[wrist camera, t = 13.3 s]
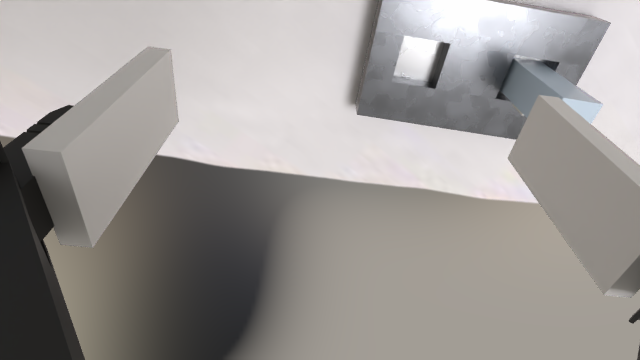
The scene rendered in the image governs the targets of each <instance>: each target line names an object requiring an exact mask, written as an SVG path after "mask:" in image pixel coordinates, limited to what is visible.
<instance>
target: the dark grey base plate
mask: <svg viewBox="0 0 640 360" xmlns="http://www.w3.org/2000/svg"><path fill="white" fill-rule="evenodd" d="M610 24H611V23H610V22H608V21H605V20H602V19H600V18H597V17H594V16H589V15H583V14H577V13H572V12H566V11H561V10H555V9H550V8H544V7H538V6H533V5H527V4H522V3H516V2H511V1H505V0H379V1H378V6H377V10H376V15H375V19H374V24H373V28H372V33H371V37H370V42H369V46H368V51H367V55H366V60H365V64H364V69H363V73H362V78H361V82H360V87H359V91H358V96H357V100H356V112H357V115H363V116H369V117H376V118H382V119H388V120H395V121H401V122H408V123H414V124H420V125H427V126H433V127H440V128H446V129H452V130H459V131H465V132H471V133H478V134H484V135H491V136H497V137H503V138H510V139H516V140H517V138H518V136H519V134H520V132H521V130H522V128H523V126H524V124H525V122H526V120H527V118H526V117H525V116H523V115H521V114H520V113H519V112H518V111H517V110H516V109H515V108H514V107H513V106H512V105H513V103H512V102H511V101H510V100H509V99H508V98H507V97H506V96H505V95H504V94H503V93H502V92H501V91H500V90H499V89H500V87H501V85H502V83H503V80H504V78H505V76H506V74H507V71H508V69H509V67H510V64H511V62H512V60H513V58H514V57H517V58H523V59H529V60H535V61H541V62H542V63H544V64H545V65H547V66H548V67H549V68H551V69H552V70H554V71H555V72H557V73H558V74H560V75H561V76H563V77H564V78H566V79H567V80H568V81H570V82H571V83H573V84H574V85H577V83H578V81H579V79H580V78H581V76H582V74H583V72H584V70H585V69H586V67H587V65H588V63H589V61H590V60H591V58H592V56H593V54H594V52H595V51H596V49H597V47H598V45H599V43H600V42H601V40H602V38H603V36H604V34H605V33H606V31H607V29H608V27H609V25H610Z"/></svg>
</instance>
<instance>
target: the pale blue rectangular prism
mask: <svg viewBox="0 0 640 360" xmlns="http://www.w3.org/2000/svg"><path fill="white" fill-rule="evenodd" d="M499 90H500V91H501V92H502V93H503V94H504V95H505V96H506V97H507V98H508V99H509V100H510V101H511V102H512V103H513V105H512V106H513V107H514V108H515V109H516V110H517V111H518V112H519V113H520V114H521V115H523V116H525V117H526V118H528V116H529V113H530V111H531V109H532V107H533V105H534V103H535V101H536V99H537V97H538V95H544V96H552V97H559V98H560V99H561V100H563V101H564V102H565V103H566V104H567V105H569V106H570V107H571V108H572V109H573V110H574V111H576V112H577V113H578V114H579V115H580V116H582V117H583V118H584V119H585V120H586V121H588V122H589V123H590V124H591V123H592V122H593V120H594V118H595V117H596V115H597V114H598V112H599V110H600V109H601V107H602V106H603V104H602V103H601V102H599V101H598V100H596V99H595V98H593V97H592V96H590V95H589V94H587V93H586V92H584V91H583V90H582V89H580V88H579V87H577V86H576V85H574V84H573V83H571V82H570V81H568V80H567V79H566V78H564V77H563V76H561V75H560V74H558V73H557V72H555V71H554V70H552V69H551V68H549V67H548V66H547V65H545V64H544V63H542V62H541V61H535V60H529V59H523V58H517V57H514V58H513V60H512V62H511V64H510V67H509V69H508V71H507V74H506V76H505V78H504V80H503V83H502V85H501V87H500V89H499Z"/></svg>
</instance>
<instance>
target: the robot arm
mask: <svg viewBox="0 0 640 360" xmlns="http://www.w3.org/2000/svg"><path fill="white" fill-rule="evenodd" d="M178 122H179V119H178V110H177V101H176V92H175V83H174V74H173V65H172V56H171V49H163V48H154V47H147V48H146V49H144V50H143V51H142V52H141V53H140V54H138V55H137V56H136V57H135V58H133V59H132V60H131V61H130V62H128V63H127V64H126V65H125V66H123V67H122V68H121V69H120V70H118V71H117V72H116V73H115V74H113V75H112V76H111V77H110V78H108V79H107V80H106V81H105V82H103V83H102V84H101V85H100V86H98V87H97V88H96V89H95V90H93V91H92V92H91V93H90V94H88V95H87V96H86V97H85V98H83V99H82V100H81V101H80V102H78V103H77V104H76V105H75V106H71V105H67V106H65V107H62V108H60V109H57V110H55V111H52V112H50V113H49V114H47V115H46V116H45V117H43V118H42V119H41V120H39V121H38V122H37V124H34V125H33V126H31V127H30V128H29V129H27V132H23V133H22V134H21V135H19V136H18V137H17V138H15V139H14V140H13V141H12V142H10V143H9V144H8V145H6V146H5V147H4V148H3V147H2V144H1V142H0V360H85V358H84V355H83V352H82V349H81V346H80V344H79V341H78V338H77V335H76V332H75V329H74V326H73V323H72V320H71V317H70V314H69V311H68V309H67V306H66V303H65V300H64V297H63V294H62V291H61V288H60V285H59V282H58V279H57V277H56V274H55V271H54V268H53V265H52V262H51V259H50V256H49V253H48V251H47V248H46V245H45V243H44V241H43V239H44V237H45V236H46V235H47V234H48V233H49V231H50V230H51V229H52V228H54V230H55V232H56V235H57V237H58V240H59V243H60V244H61V245H69V246H80V247H91V248H93V247H94V245H95V244H96V242H97V241H98V239H99V238H100V236H101V235H102V233H103V232H104V230H105V229H106V228H107V226H108V224H109V223H110V222H111V220H112V219H113V217H114V216H115V214H116V213H117V211H118V210H119V208H120V207H121V205H122V204H123V203H124V201H125V200H126V198H127V197H128V195H129V194H130V192H131V191H132V189H133V188H134V186H135V185H136V183H137V182H138V180H139V179H140V177H141V176H142V175H143V173H144V172H145V170H146V168H147V167H148V166H149V164H150V163H151V161H152V160H153V158H154V157H155V155H156V154H157V153H158V151H159V150H160V148H161V147H162V145H163V144H164V142H165V141H166V139H167V138H168V136H169V135H170V133H171V132H172V130H173V129H174V128H175V126H176V125H177V123H178ZM508 160H509V161H510V163H511V164H512V165H513V167H514V168H515V170H516V171H517V172H518V174H519V175H520V177H521V178H522V180H523V181H524V182H525V184H526V185H527V187H528V188H529V190H530V191H531V192H532V194H533V195H534V197H535V198H536V199H537V201H538V202H539V204H540V205H541V207H542V208H543V209H544V211H545V212H546V213H547V215H548V217H549V218H550V219H551V221H552V222H553V224H554V225H555V226H556V228H557V229H558V231H559V232H560V233H561V235H562V236H563V238H564V239H565V241H566V242H567V243H568V245H569V246H570V248H571V249H572V251H573V252H574V253H575V255H576V256H577V258H578V259H579V261H580V262H581V263H582V264H583V266H584V267H585V269H586V270H587V272H588V273H589V275H590V276H591V278H592V279H593V280H594V282H595V283H596V285H597V286H598V287H599V289H600V290H601V292H602V293H603V295H609V296H619V297H630V298H631V297H632V296H633V295H634V294H635V293H636V292H637V291H638V290H639V289H640V165H639V164H637V163H636V162H635V161H634V160H633V159H632V158H630V157H629V156H628V155H627V154H626V153H624V152H623V151H622V150H621V149H620V148H618V147H617V146H616V145H615V144H614V143H613V142H611V141H610V140H609V139H608V138H607V137H605V136H604V135H603V134H602V133H601V132H599V131H598V130H597V129H596V128H595V127H594V126H592V125H591V124H590V123H589V122H588V121H586V120H585V119H584V118H583V117H582V116H580V115H579V114H578V113H577V112H576V111H574V110H573V109H572V108H571V107H570V106H569V105H567V104H566V103H565V102H564V101H563V100H561V99H560V98H559V97H552V96H544V95H538V97H537V99H536V101H535V103H534V105H533V107H532V109H531V111H530V113H529V116H528V118H527V120H526V122H525V124H524V126H523V128H522V130H521V132H520V134H519V136H518V138H517V140H516V142H515V144H514V146H513V148H512V150H511V152H510V154H509V156H508ZM637 320H640V309H639V310H638V311H637V312H636V313H635V314H634V315H633V316H632V317H631V318H630V320H629V322H631V323H634V322H635V321H637ZM637 360H640V346H639V352H638V359H637Z"/></svg>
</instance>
